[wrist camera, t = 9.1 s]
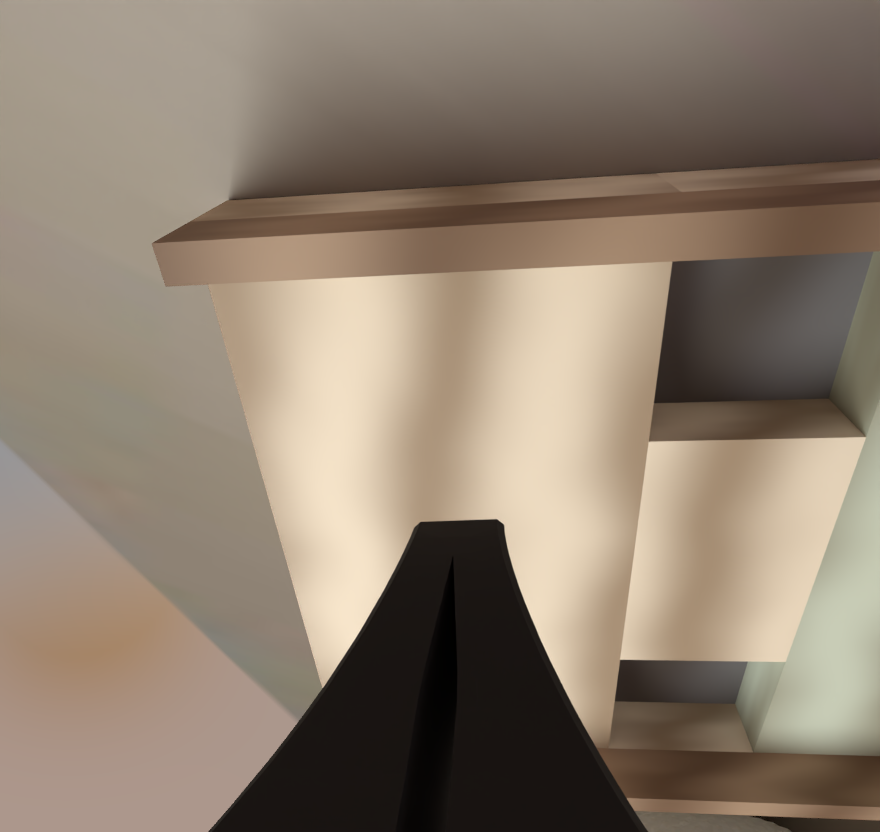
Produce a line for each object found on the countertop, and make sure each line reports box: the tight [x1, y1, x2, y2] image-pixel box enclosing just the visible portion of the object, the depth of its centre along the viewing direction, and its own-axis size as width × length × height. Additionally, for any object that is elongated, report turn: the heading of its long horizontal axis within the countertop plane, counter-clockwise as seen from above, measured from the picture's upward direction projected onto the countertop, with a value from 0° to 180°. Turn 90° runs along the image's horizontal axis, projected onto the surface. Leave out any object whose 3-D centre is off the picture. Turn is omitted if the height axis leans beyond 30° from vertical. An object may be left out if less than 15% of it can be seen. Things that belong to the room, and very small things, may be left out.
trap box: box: [152, 159, 880, 820], centre depth 20 cm, size 29×24×5 cm
